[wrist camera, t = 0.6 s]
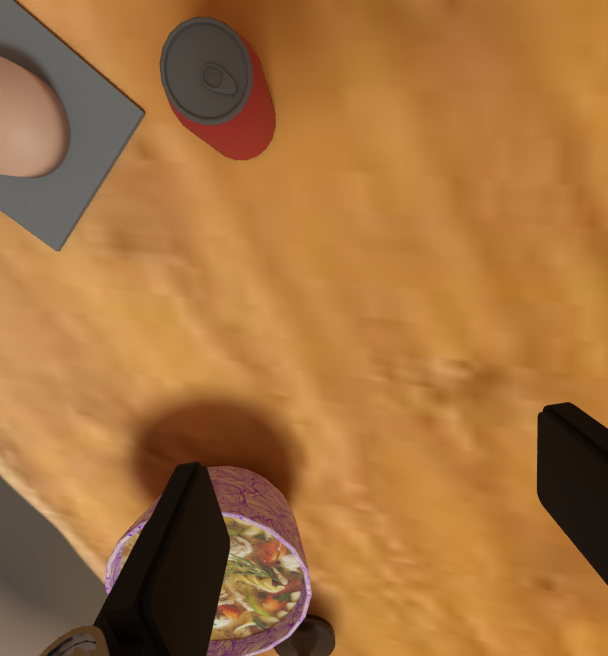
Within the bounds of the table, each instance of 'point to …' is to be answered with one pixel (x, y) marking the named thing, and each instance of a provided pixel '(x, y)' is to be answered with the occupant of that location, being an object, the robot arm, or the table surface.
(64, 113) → the pinkish beige domed disc
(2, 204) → the slate mat
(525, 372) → the table surface
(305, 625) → the candlestick
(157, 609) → the robot arm
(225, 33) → the beer can
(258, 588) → the bowl of food
